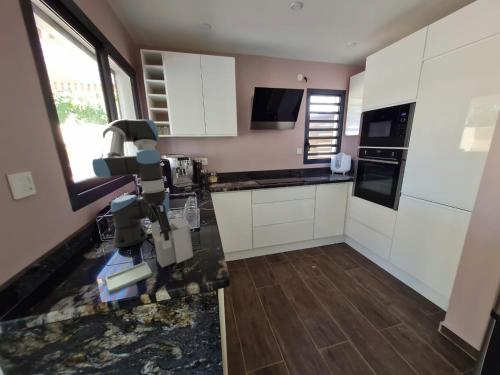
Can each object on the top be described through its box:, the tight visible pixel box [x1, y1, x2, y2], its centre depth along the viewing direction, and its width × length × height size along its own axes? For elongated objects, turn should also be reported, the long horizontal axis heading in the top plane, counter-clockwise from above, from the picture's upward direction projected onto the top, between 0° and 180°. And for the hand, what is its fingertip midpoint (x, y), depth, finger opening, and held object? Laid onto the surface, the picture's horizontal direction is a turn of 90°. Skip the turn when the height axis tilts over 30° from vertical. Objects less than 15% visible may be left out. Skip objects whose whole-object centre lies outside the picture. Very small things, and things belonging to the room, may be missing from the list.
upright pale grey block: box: [153, 232, 177, 268], centre depth 82 cm, size 6×10×11 cm, turn 131°
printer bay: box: [166, 217, 194, 264], centre depth 85 cm, size 11×7×15 cm, turn 41°
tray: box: [104, 261, 153, 294], centre depth 73 cm, size 10×14×1 cm
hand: (161, 242), depth 79 cm, fingers open, 13 cm apart
